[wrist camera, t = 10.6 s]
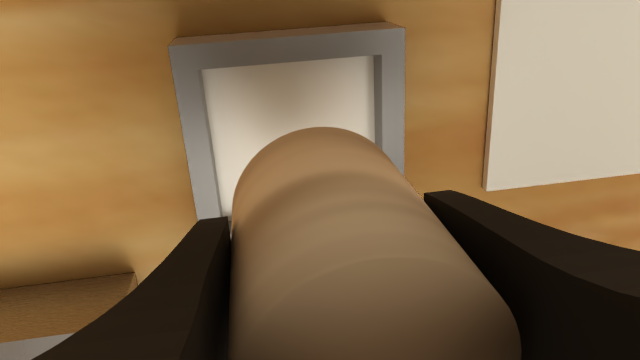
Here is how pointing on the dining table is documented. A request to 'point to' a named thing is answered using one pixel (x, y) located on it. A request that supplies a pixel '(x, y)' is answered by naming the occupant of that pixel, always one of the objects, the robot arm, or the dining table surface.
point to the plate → (563, 92)
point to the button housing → (55, 312)
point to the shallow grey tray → (283, 96)
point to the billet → (351, 263)
